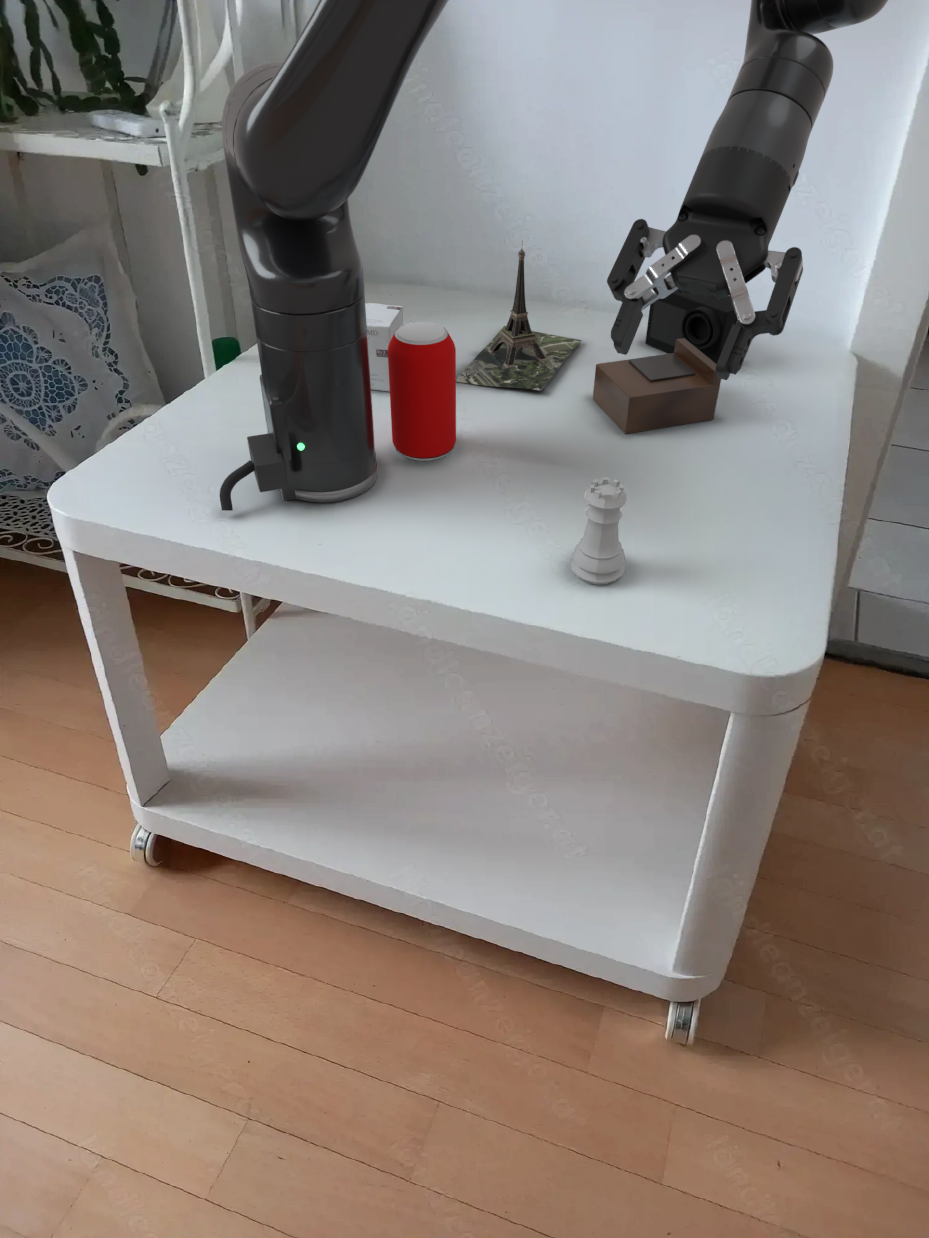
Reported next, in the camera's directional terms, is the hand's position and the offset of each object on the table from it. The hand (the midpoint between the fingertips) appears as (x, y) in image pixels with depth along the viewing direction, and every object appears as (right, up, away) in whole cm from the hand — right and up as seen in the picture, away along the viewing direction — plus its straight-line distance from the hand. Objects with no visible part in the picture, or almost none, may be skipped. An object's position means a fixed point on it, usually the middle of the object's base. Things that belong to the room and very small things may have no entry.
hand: (669, 362), depth 74 cm
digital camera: (+10, +10, +35) cm, 37 cm away
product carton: (-26, +6, +30) cm, 40 cm away
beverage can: (-20, -4, +18) cm, 27 cm away
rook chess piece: (-5, -16, +3) cm, 17 cm away
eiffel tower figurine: (-10, +9, +33) cm, 36 cm away
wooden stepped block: (+3, +2, +24) cm, 24 cm away
